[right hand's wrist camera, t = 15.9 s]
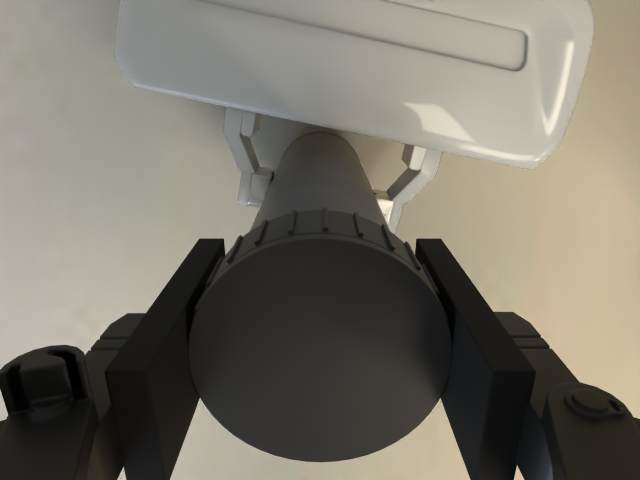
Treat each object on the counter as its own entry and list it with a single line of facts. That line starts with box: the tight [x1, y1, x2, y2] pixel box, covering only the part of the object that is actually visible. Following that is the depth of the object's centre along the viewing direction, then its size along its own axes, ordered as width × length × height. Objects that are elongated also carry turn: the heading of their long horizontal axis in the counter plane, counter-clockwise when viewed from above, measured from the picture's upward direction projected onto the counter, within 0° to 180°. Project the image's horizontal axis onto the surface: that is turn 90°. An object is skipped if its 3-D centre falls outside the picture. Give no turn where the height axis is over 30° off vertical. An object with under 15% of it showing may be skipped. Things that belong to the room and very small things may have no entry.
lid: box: [188, 207, 453, 462], centre depth 11 cm, size 6×6×2 cm
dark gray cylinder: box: [250, 133, 391, 232], centre depth 20 cm, size 5×5×19 cm
